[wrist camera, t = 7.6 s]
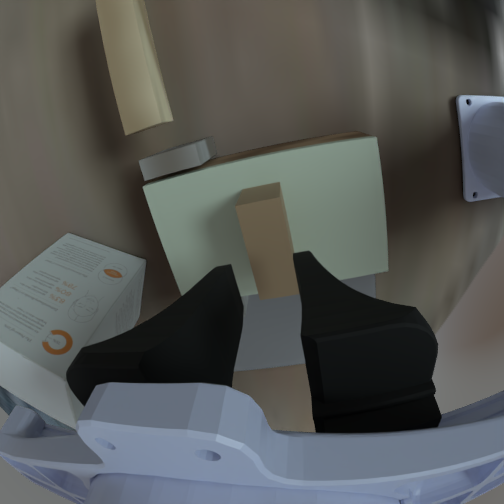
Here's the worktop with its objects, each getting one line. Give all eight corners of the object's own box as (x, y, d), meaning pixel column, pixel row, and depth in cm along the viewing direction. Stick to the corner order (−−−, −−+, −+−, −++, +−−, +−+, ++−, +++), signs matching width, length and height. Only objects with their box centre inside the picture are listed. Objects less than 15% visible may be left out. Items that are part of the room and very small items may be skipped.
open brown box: (352, 109, 18) (372, 109, 14) (371, 259, 22) (388, 292, 18) (161, 150, 20) (134, 162, 16) (205, 287, 24) (192, 323, 20)
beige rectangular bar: (133, -52, 10) (121, -63, 8) (173, 120, 14) (161, 122, 13) (103, -38, 10) (89, -46, 8) (139, 132, 15) (125, 135, 13)
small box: (68, 288, 26) (-10, 380, 14) (68, 230, 23) (-36, 317, 12) (141, 317, 27) (79, 433, 15) (149, 259, 24) (64, 380, 12)
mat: (373, 262, 22) (374, 265, 22) (374, 348, 26) (375, 350, 26) (201, 291, 25) (200, 294, 24) (231, 368, 28) (230, 371, 28)
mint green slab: (372, 135, 15) (397, 143, 12) (384, 264, 18) (403, 298, 15) (147, 183, 17) (118, 202, 14) (188, 297, 21) (172, 333, 17)
